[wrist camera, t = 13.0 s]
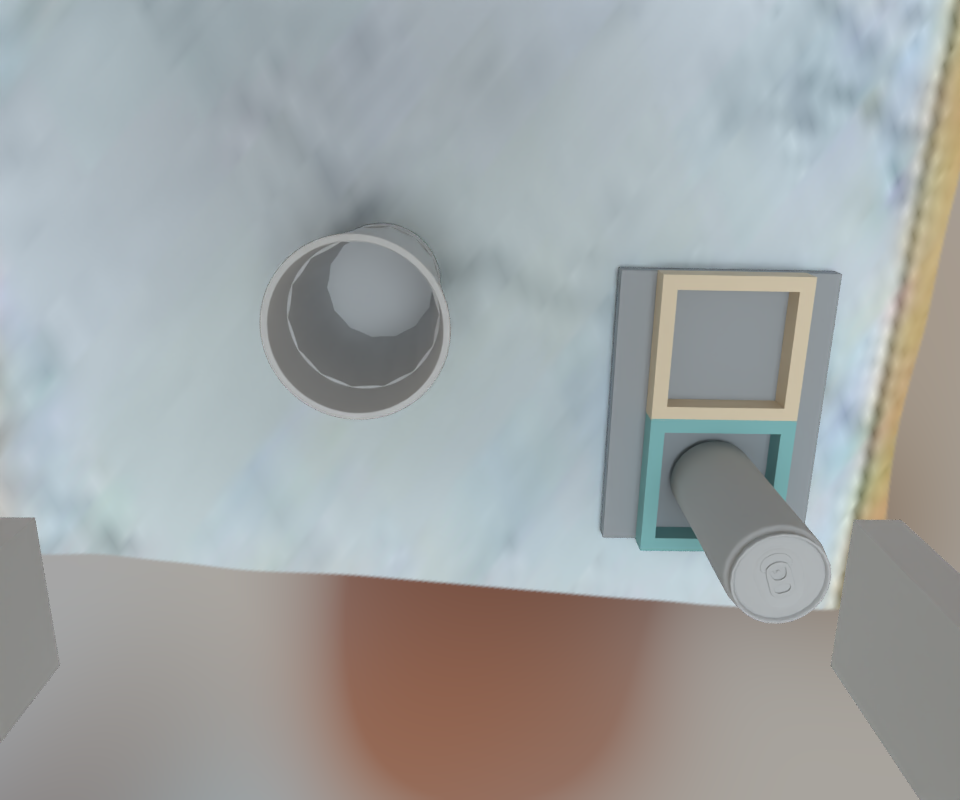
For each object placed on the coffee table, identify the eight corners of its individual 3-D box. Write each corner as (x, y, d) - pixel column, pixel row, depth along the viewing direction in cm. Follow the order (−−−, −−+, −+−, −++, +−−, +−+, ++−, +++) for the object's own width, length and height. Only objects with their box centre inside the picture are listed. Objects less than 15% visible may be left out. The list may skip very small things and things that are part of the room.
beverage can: (739, 426, 49) (822, 517, 37) (758, 499, 50) (843, 608, 39) (658, 452, 49) (716, 549, 38) (679, 523, 50) (740, 639, 39)
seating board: (618, 266, 47) (626, 273, 44) (834, 270, 47) (854, 278, 45) (600, 530, 52) (606, 550, 49) (795, 533, 52) (811, 552, 49)
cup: (391, 378, 49) (366, 455, 37) (281, 286, 47) (220, 335, 35) (485, 276, 47) (489, 323, 35) (374, 176, 45) (342, 191, 34)
